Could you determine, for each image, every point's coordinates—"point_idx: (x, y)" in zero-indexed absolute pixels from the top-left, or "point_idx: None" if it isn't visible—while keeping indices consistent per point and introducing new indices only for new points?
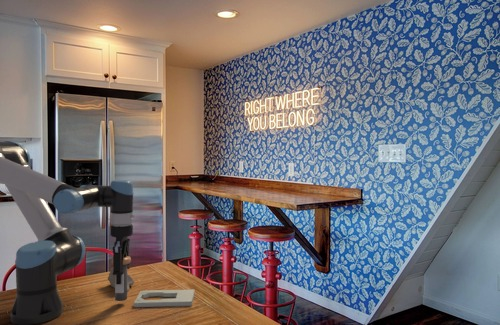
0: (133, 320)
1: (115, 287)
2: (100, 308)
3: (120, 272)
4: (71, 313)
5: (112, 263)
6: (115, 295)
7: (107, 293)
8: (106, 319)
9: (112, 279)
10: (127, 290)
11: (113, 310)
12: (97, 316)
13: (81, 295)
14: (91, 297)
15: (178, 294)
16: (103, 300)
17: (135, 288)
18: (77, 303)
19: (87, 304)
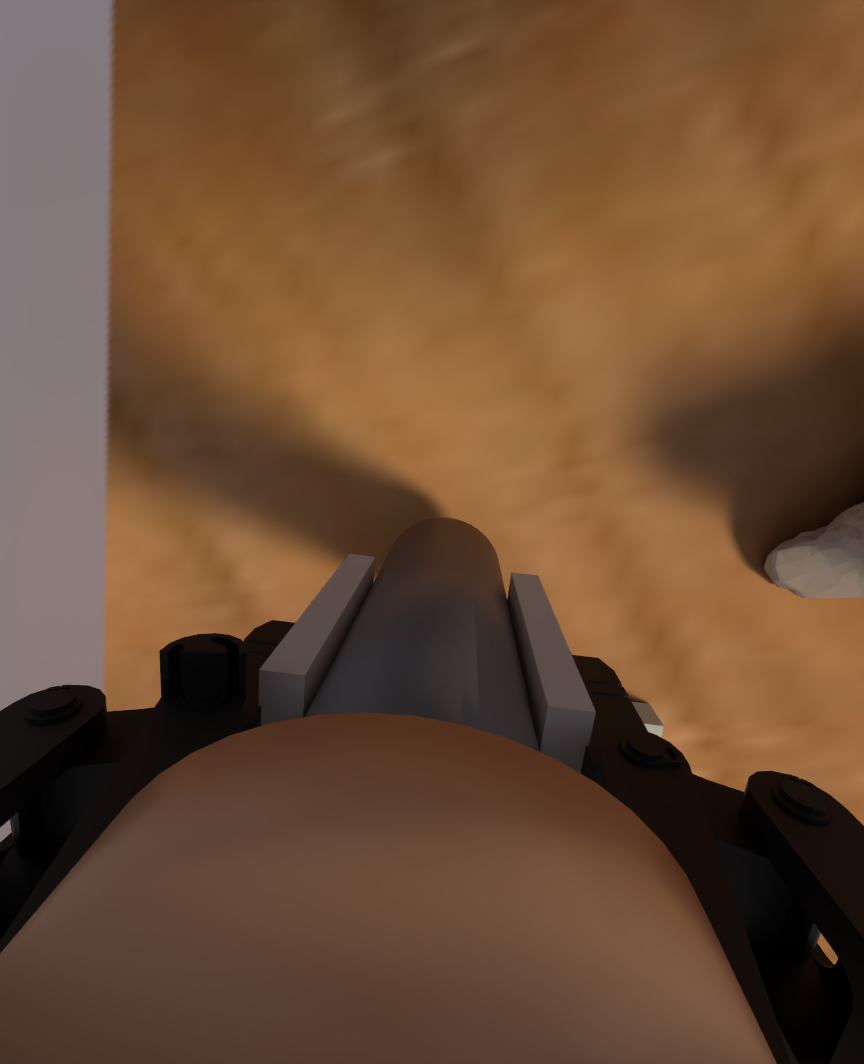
0: (103, 688)
1: (331, 580)
2: (367, 387)
3: (10, 858)
4: (274, 111)
5: (172, 774)
6: (411, 536)
7: (789, 371)
8: (125, 490)
9: None
10: (774, 580)
11: (306, 514)
12: (187, 400)
13: (819, 50)
14: (708, 209)
15: None
16: (577, 371)
17: (853, 638)
18: (549, 86)
19: (496, 220)
